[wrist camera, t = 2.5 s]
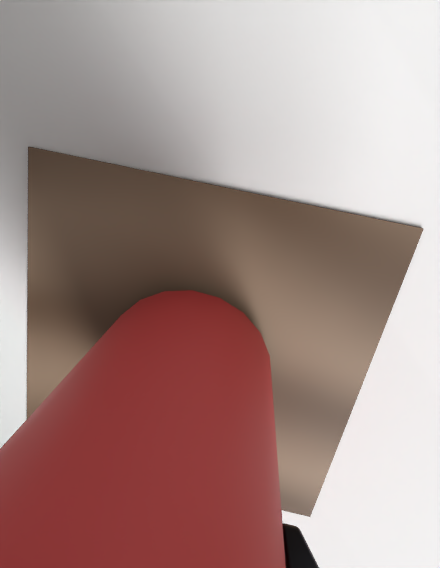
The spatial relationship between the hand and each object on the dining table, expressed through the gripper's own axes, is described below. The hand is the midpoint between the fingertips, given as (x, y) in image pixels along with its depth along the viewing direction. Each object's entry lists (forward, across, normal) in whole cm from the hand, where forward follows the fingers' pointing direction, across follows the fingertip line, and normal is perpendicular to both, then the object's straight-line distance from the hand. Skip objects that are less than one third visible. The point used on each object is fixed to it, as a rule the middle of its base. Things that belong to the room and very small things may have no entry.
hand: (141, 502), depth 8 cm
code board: (+6, 0, 0) cm, 6 cm away
